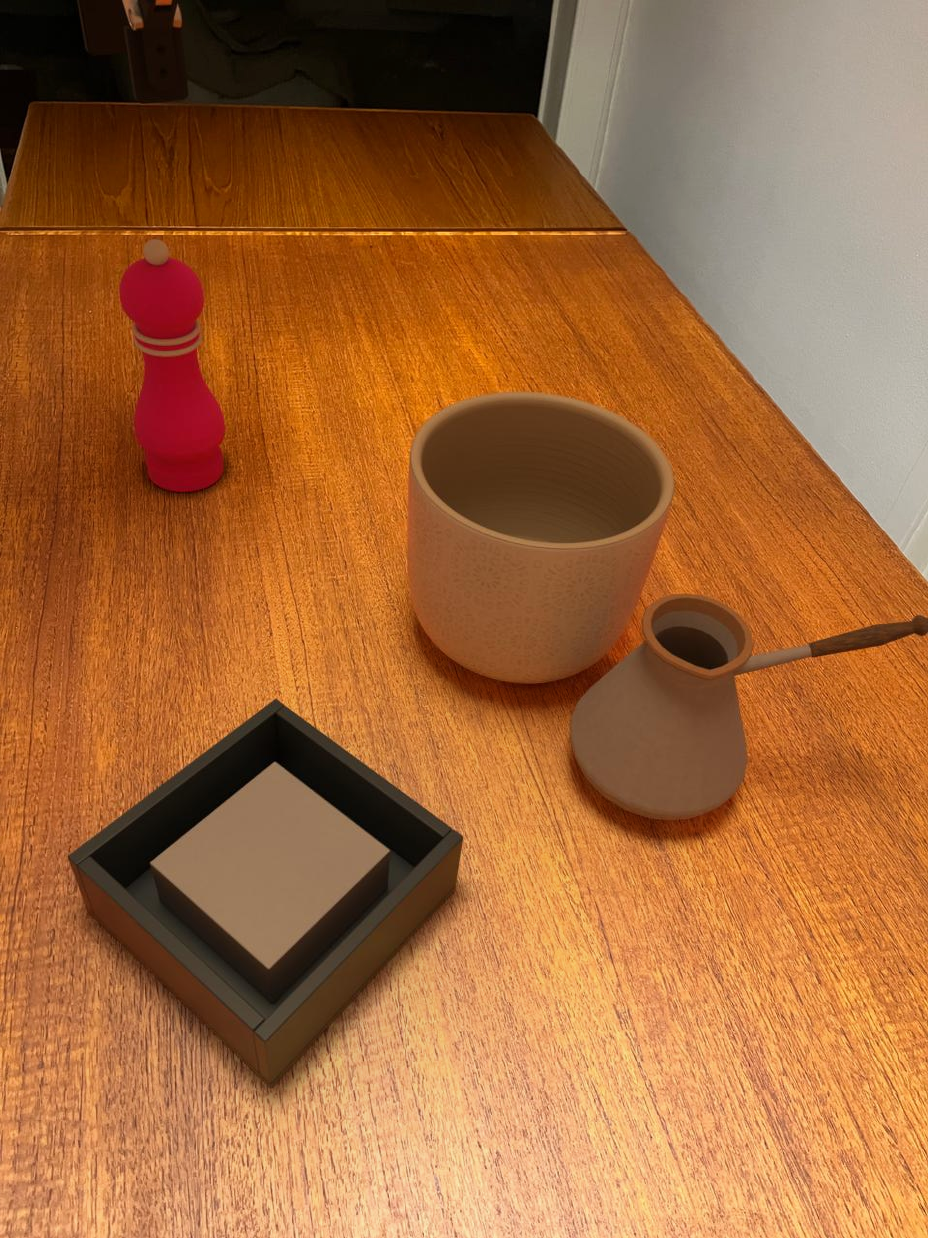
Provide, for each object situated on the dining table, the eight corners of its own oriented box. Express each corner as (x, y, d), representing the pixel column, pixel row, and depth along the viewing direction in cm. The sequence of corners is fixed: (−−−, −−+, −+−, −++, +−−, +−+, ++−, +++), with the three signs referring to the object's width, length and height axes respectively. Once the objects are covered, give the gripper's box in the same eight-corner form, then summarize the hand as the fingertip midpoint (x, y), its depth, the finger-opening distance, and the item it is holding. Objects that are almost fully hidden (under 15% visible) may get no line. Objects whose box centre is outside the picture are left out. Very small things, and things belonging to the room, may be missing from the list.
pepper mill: (126, 464, 83) (82, 232, 69) (201, 437, 87) (174, 211, 73) (169, 507, 79) (132, 271, 65) (246, 477, 83) (226, 247, 69)
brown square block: (159, 901, 54) (149, 862, 51) (278, 800, 59) (274, 760, 57) (272, 1005, 50) (268, 969, 48) (388, 888, 56) (390, 850, 53)
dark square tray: (86, 911, 54) (66, 856, 50) (279, 754, 63) (275, 697, 59) (271, 1089, 48) (264, 1043, 44) (455, 889, 57) (464, 836, 53)
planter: (420, 729, 65) (435, 557, 54) (384, 562, 77) (391, 394, 66) (658, 705, 68) (716, 538, 58) (589, 548, 80) (626, 386, 70)
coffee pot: (573, 840, 60) (622, 677, 49) (554, 698, 68) (592, 532, 58) (904, 846, 62) (1019, 690, 51) (847, 707, 70) (936, 548, 59)
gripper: (-34, -312, 53) (38, 40, 65) (54, -281, 43) (120, 128, 55) (104, -302, 56) (148, 33, 68) (215, -271, 46) (244, 114, 58)
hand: (135, 75), depth 62 cm, fingers open, 9 cm apart
